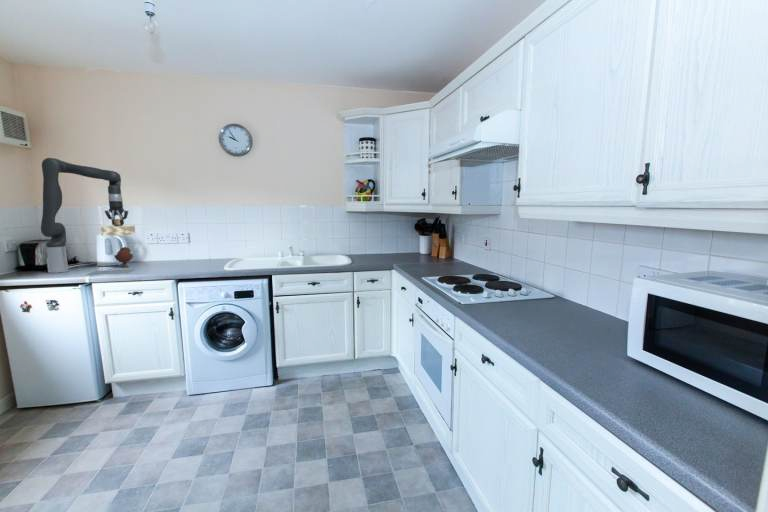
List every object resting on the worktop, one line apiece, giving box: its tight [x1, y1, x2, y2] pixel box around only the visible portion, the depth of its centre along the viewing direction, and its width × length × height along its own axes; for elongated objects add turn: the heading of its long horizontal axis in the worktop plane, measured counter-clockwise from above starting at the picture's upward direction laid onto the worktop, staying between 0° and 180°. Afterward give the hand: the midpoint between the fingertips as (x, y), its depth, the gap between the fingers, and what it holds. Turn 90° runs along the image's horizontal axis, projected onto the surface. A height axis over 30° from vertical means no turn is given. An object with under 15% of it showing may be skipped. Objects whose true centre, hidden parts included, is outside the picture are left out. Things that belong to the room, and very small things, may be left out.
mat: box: [85, 268, 137, 276], centre depth 233 cm, size 24×15×1 cm, turn 107°
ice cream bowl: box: [114, 246, 134, 269], centre depth 250 cm, size 11×11×15 cm
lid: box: [100, 218, 136, 237], centre depth 243 cm, size 15×15×11 cm
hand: (118, 225), depth 243 cm, fingers closed on lid, 4 cm apart
